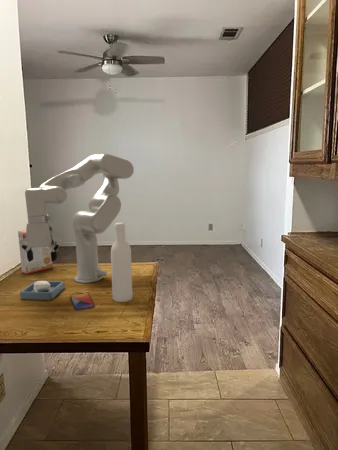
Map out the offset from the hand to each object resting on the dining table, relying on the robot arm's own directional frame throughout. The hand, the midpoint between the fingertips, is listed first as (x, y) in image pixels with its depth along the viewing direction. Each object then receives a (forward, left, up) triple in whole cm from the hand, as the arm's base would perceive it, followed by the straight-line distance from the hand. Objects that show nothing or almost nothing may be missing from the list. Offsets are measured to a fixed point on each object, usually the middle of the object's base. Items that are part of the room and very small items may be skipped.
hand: (42, 260), depth 144 cm
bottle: (-34, +5, -14) cm, 37 cm away
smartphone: (-19, +9, -14) cm, 25 cm away
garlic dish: (0, +1, -14) cm, 14 cm away
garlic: (0, +2, -12) cm, 12 cm away
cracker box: (+17, -30, -14) cm, 38 cm away
